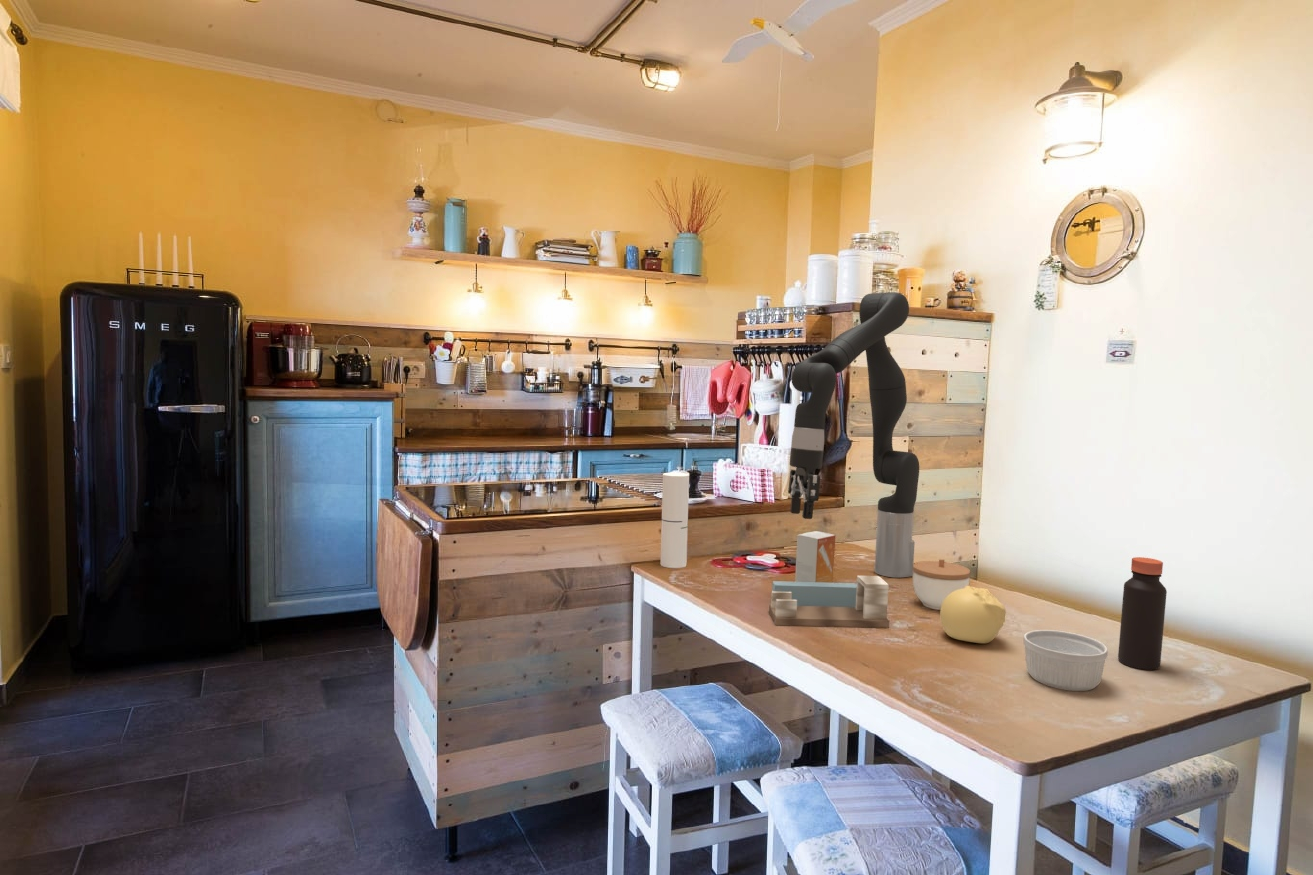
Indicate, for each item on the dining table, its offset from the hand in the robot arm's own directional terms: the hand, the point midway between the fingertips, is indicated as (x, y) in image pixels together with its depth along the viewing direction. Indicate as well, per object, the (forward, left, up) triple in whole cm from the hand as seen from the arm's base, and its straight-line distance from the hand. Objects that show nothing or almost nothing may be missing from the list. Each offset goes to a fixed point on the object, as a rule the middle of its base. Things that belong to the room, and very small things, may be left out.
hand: (800, 515), depth 179 cm
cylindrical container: (+29, -28, -20) cm, 45 cm away
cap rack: (-3, +16, -20) cm, 26 cm away
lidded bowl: (-32, +4, -20) cm, 38 cm away
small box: (-6, -11, -20) cm, 24 cm away
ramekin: (-38, +46, -20) cm, 63 cm away
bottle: (-57, +38, -20) cm, 72 cm away
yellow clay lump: (-30, +26, -20) cm, 45 cm away
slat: (-3, +5, -20) cm, 21 cm away
